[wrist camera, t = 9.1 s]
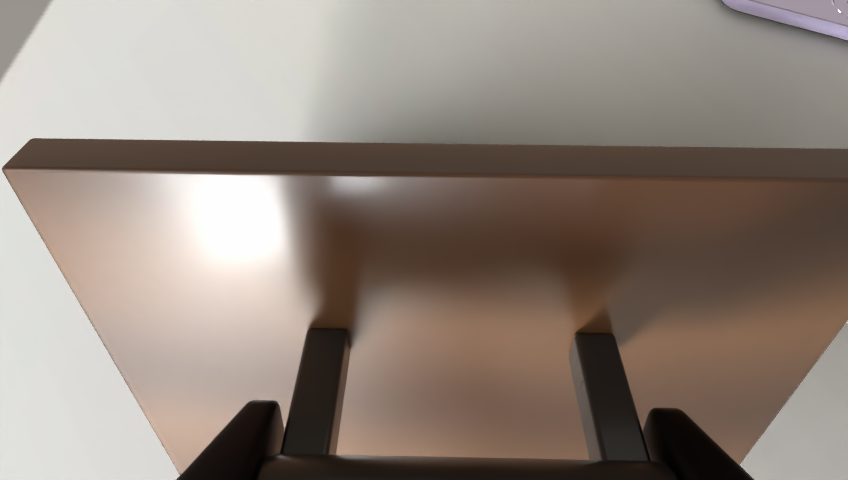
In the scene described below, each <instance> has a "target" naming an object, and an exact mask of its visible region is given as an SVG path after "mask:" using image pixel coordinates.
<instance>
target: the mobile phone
mask: <svg viewBox="0 0 848 480" xmlns="http://www.w3.org/2000/svg"><path fill="white" fill-rule="evenodd" d="M722 1H723V3H725V4H726V5H727V6H728V7H730V8H732V9H734V10H737V11H740V12H744V13H748V14H751V15H755V16H759V17H762V18H766V19H770V20H774V21H777V22H781V23H785V24H788V25H792V26H796V27H800V28H803V29H807V30H811V31H815V32H818V33H822V34H826V35H829V36H833V37H837V38H841V39H844V40H848V0H722Z"/></svg>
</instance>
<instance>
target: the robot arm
mask: <svg viewBox="0 0 848 480" xmlns="http://www.w3.org/2000/svg"><path fill="white" fill-rule="evenodd" d="M284 432H285V430H284V425H283V420H282V415H281V410H280V406H279V403H278V402H277V401H275V400H251V401H249V402H248V403H247V404H246V405H245V406H244V407H243V408H242V409H241V410H240V411H239V412H238V413H237V415H236V416H235V417H234V418H233V419H232V420H231V421H230V422H229V423H228V424H227V425H226V426H225V428H224V429H223V430H222V431H221V432H220V433H219V434H218V435H217V436H216V437H215V438H214V439H213V441H212V442H211V443H210V444H209V445H208V446H207V447H206V448H205V449H204V450H203V451H202V452H201V454H200V455H199V456H198V457H197V458H196V459H195V460H194V461H193V462H192V463H191V464H190V465H189V467H188V468H187V469H186V470H185V471H184V472H183V473H182V474H181V475H180V476H179V477H178V478H177V480H254V477H255V474H256V472H257V469H258V467H259V465H260V463H261V461H262V460H263V459H264V458H265V457H266V456H268V455H270V454H273V453H280V450H281V445H282V441H283V436H284ZM643 435H644V438H645V442H646V445H647V449H648V452H649V456H650V459H651V461H661V462H663V463H666V464H668V465H669V466H670V467H672V468H673V469H674V471H675V472H676V473H677V475H678V477H679V478H680V480H754V479H753V478H752V477H751V476H750V475H749V474H748V473H747V472H746V471H745V470H744V469H743V468H742V467H741V466H740V465H738V464H737V463H736V462H735V461H734V460H733V459H732V458H731V457H730V456H729V455H728V454H727V453H726V452H725V451H724V450H723V449H722V448H721V447H720V446H719V445H718V444H717V443H716V442H715V441H714V440H713V439H712V438H711V437H710V436H709V435H707V434H706V433H705V432H704V431H703V430H702V429H701V428H700V427H699V426H698V425H697V424H696V423H695V422H694V421H693V420H692V419H691V418H690V417H689V416H688V415H687V414H686V413H685V412H683V411H682V410H680V409H678V408H653V409H651V410H650V412H649V414H648V416H647V419H646V422H645V425H644V428H643Z"/></svg>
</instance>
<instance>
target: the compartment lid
mask: <svg viewBox="0 0 848 480" xmlns="http://www.w3.org/2000/svg"><path fill="white" fill-rule="evenodd" d="M2 170H3V173H4V174H5V176H6V178H7V180H8V181H9V183H10V185H11V186H12V188H13V190H14V192H15V193H16V195H17V197H18V198H19V200H20V202H21V204H22V205H23V207H24V209H25V210H26V212H27V214H28V216H29V217H30V219H31V221H32V222H33V224H34V226H35V228H36V229H37V231H38V233H39V234H40V236H41V238H42V239H43V241H44V243H45V245H46V246H47V248H48V250H49V251H50V253H51V255H52V257H53V258H54V260H55V262H56V263H57V265H58V267H59V269H60V270H61V272H62V274H63V275H64V277H65V279H66V281H67V282H68V284H69V286H70V287H71V289H72V291H73V293H74V294H75V296H76V298H77V299H78V301H79V303H80V305H81V306H82V308H83V310H84V311H85V313H86V315H87V316H88V318H89V320H90V322H91V323H92V325H93V327H94V328H95V330H96V332H97V334H98V335H99V337H100V339H101V340H102V342H103V344H104V346H105V347H106V349H107V351H108V352H109V354H110V356H111V358H112V359H113V361H114V363H115V364H116V366H117V368H118V370H119V371H120V373H121V375H122V376H123V378H124V380H125V382H126V383H127V385H128V387H129V388H130V390H131V392H132V393H133V395H134V397H135V399H136V400H137V402H138V404H139V405H140V407H141V409H142V411H143V412H144V414H145V416H146V417H147V419H148V421H149V423H150V424H151V426H152V428H153V429H154V431H155V433H156V435H157V436H158V438H159V440H160V441H161V443H162V445H163V447H164V448H165V450H166V452H167V453H168V455H169V457H170V459H171V460H172V462H173V464H174V465H175V467H176V469H177V471H178V472H179V474H180V475H181V474H182V473H183V472H184V471H185V470H186V469H187V468H188V467H189V465H190V464H191V463H192V462H193V461H194V460H195V459H196V458H197V457H198V456H199V455H200V454H201V452H202V451H203V450H204V449H205V448H206V447H207V446H208V445H209V444H210V443H211V442H212V441H213V439H214V438H215V437H216V436H217V435H218V434H219V433H220V432H221V431H222V430H223V429H224V428H225V426H226V425H227V424H228V423H229V422H230V421H231V420H232V419H233V418H234V417H235V416H236V415H237V413H238V412H239V411H240V410H241V409H242V408H243V407H244V406H245V405H246V404H247V403H248V402H249V401H251V400H275V401H277V402H278V403H279V406H280V410H281V415H282V420H283V425H284V430H285V432H284V436H283V441H282V445H281V450H280V453H273V454H270V455H268V456H266V457H265V458H264V459H263V460H262V461H261V463H260V465H259V467H258V469H257V472H256V474H255V477H254V480H680V478H679V477H678V475H677V473H676V472H675V471H674V469H673V468H672V467H670V466H669V465H668V464H666V463H663V462H661V461H651V459H650V456H649V452H648V449H647V445H646V442H645V438H644V435H643V428H644V425H645V422H646V419H647V416H648V414H649V412H650V410H651V409H653V408H678V409H680V410H682V411H683V412H685V413H686V414H687V415H688V416H689V417H690V418H691V419H692V420H693V421H694V422H695V423H696V424H697V425H698V426H699V427H700V428H701V429H702V430H703V431H704V432H705V433H706V434H707V435H709V436H710V437H711V438H712V439H713V440H714V441H715V442H716V443H717V444H718V445H719V446H720V447H721V448H722V449H723V450H724V451H725V452H726V453H727V454H728V455H729V456H730V457H731V458H732V459H733V460H734V461H735V462H736V463H737V464H738V465H740V463H741V462H742V461H743V459H744V458H745V457H746V455H747V454H748V453H749V451H750V450H751V449H752V447H753V446H754V445H755V443H756V442H757V441H758V439H759V438H760V437H761V435H762V434H763V433H764V431H765V430H766V429H767V427H768V426H769V425H770V423H771V422H772V421H773V419H774V418H775V417H776V415H777V414H778V413H779V411H780V410H781V409H782V407H783V406H784V405H785V403H786V402H787V401H788V399H789V398H790V397H791V395H792V394H793V393H794V391H795V390H796V389H797V387H798V386H799V385H800V383H801V382H802V381H803V379H804V378H805V377H806V375H807V374H808V373H809V371H810V370H811V369H812V367H813V366H814V365H815V363H816V362H817V361H818V359H819V358H820V357H821V355H822V354H823V353H824V351H825V350H826V349H827V347H828V346H829V345H830V343H831V342H832V341H833V339H834V338H835V337H836V335H837V334H838V333H839V331H840V330H841V329H842V327H843V326H844V324H845V323H846V322H847V320H848V149H816V148H739V147H661V146H584V145H507V144H429V143H352V142H274V141H197V140H120V139H42V138H34V139H31V140H29V141H28V142H27V143H26V144H25V145H24V146H23V147H22V148H21V149H20V150H19V151H18V152H17V153H16V154H15V155H14V156H13V157H12V158H11V159H10V160H9V161H8V162H7V163H6V164H5V165H4V166H3V168H2Z"/></svg>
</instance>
